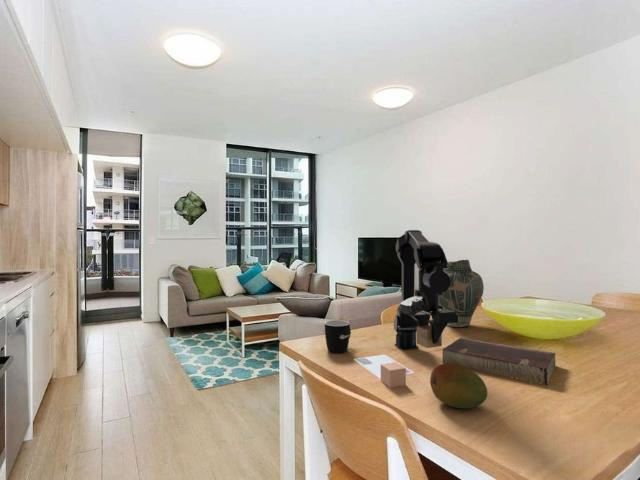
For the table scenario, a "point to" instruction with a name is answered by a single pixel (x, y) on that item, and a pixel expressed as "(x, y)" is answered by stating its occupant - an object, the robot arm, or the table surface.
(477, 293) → the vase
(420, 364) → the table surface
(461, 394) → the fruit
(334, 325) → the mug
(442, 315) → the robot arm
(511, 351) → the hardback book
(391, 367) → the block
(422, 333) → the walnut block
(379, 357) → the envelope
